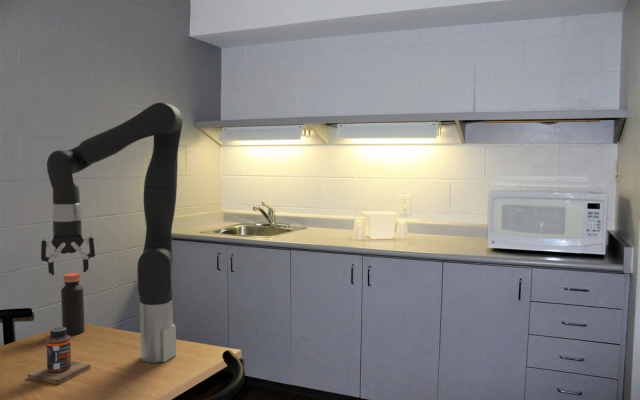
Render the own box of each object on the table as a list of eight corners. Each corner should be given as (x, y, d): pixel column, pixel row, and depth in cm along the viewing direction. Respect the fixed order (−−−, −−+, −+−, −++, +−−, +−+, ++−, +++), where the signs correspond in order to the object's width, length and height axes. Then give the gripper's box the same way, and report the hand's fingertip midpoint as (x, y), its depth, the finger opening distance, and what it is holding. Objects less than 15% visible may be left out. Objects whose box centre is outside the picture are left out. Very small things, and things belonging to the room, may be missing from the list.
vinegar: (77, 327, 181) (76, 271, 179) (88, 331, 177) (86, 274, 175) (58, 332, 175) (56, 274, 173) (69, 337, 171) (67, 277, 169)
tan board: (90, 368, 146) (90, 364, 146) (59, 384, 136) (58, 380, 136) (60, 362, 150) (60, 358, 150) (27, 378, 140) (27, 373, 140)
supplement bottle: (61, 374, 140) (60, 333, 139) (42, 372, 141) (40, 331, 140) (76, 365, 145) (74, 326, 144) (57, 363, 147) (56, 324, 146)
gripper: (39, 221, 145) (41, 278, 146) (94, 218, 152) (96, 273, 153) (39, 218, 151) (41, 273, 153) (92, 216, 158) (93, 268, 160)
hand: (69, 273), depth 153 cm, fingers open, 8 cm apart
